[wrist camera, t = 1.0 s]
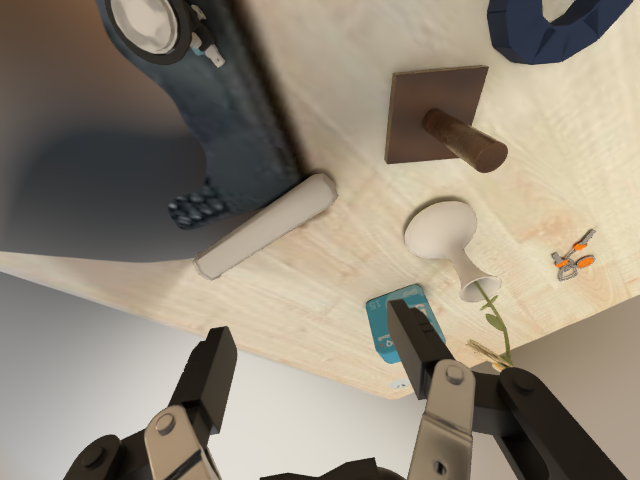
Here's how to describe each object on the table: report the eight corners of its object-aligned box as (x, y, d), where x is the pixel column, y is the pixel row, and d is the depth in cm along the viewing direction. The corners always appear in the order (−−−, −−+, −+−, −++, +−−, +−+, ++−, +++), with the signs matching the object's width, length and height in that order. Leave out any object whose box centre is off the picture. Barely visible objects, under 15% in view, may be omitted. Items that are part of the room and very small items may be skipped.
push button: (241, 46, 26) (216, 51, 18) (206, 81, 28) (169, 99, 20) (187, -32, 22) (125, -68, 14) (150, 13, 24) (77, 3, 16)
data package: (418, 282, 51) (444, 336, 42) (423, 294, 54) (449, 348, 44) (364, 301, 54) (377, 356, 45) (371, 312, 57) (385, 366, 48)
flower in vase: (396, 209, 40) (487, 375, 20) (472, 185, 38) (652, 344, 18) (406, 263, 48) (478, 420, 28) (469, 246, 46) (592, 401, 26)
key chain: (592, 268, 51) (596, 271, 51) (552, 282, 54) (555, 285, 53) (597, 227, 44) (601, 230, 44) (550, 245, 46) (554, 248, 46)
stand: (392, 73, 28) (446, 95, 18) (481, 65, 28) (588, 82, 18) (384, 160, 34) (420, 214, 24) (456, 153, 34) (524, 204, 24)
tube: (320, 168, 31) (186, 261, 38) (343, 204, 32) (210, 287, 40) (324, 163, 35) (205, 246, 43) (344, 194, 37) (225, 270, 45)
